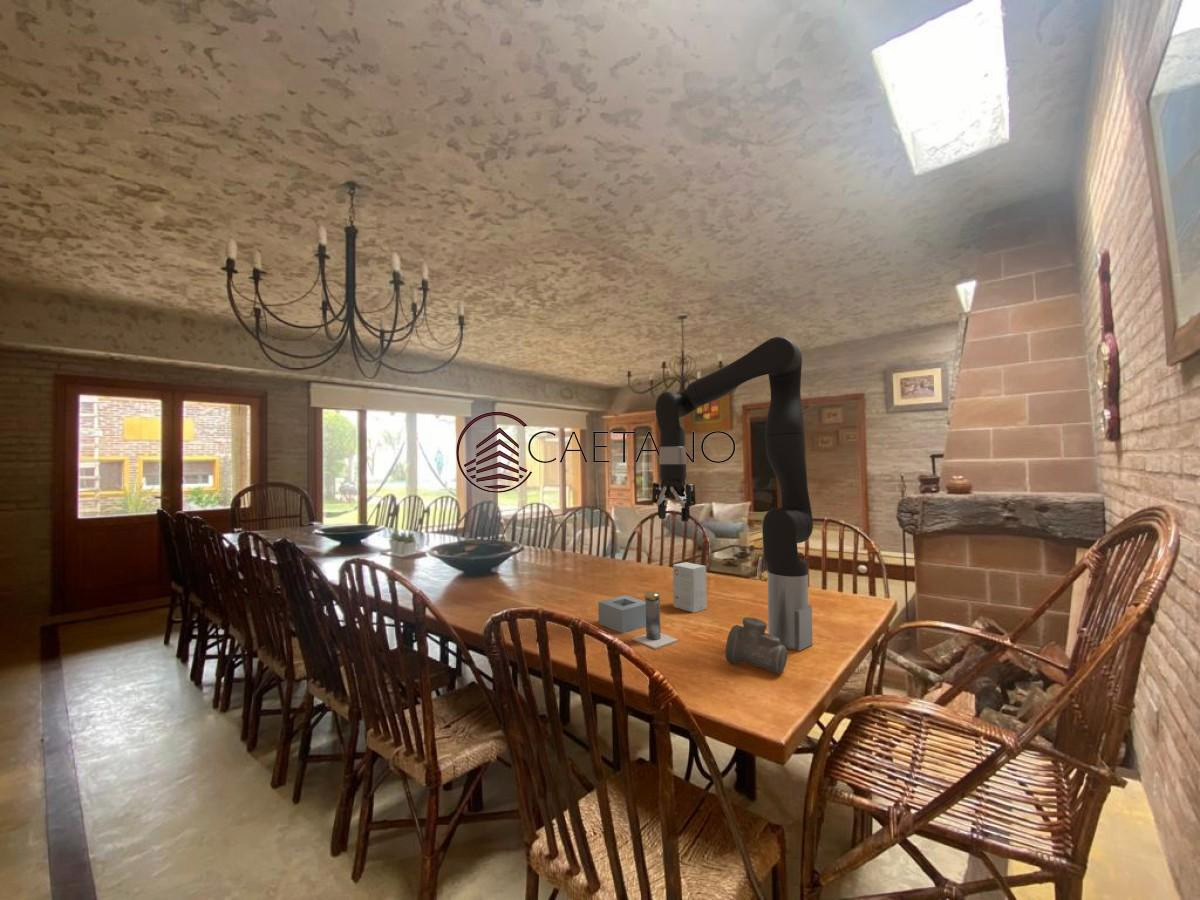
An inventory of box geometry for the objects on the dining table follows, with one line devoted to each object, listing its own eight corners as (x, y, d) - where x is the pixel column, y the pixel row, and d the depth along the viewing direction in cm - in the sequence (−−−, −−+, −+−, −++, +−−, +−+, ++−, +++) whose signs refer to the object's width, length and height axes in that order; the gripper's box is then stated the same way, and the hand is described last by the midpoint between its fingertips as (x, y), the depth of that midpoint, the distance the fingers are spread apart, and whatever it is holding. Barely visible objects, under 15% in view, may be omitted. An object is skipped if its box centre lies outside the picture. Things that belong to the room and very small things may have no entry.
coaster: (678, 641, 121) (678, 639, 121) (655, 649, 116) (655, 647, 116) (655, 632, 127) (655, 631, 127) (632, 639, 122) (632, 638, 122)
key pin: (657, 633, 125) (656, 590, 125) (664, 639, 121) (662, 594, 121) (643, 635, 124) (641, 592, 124) (649, 641, 120) (647, 596, 120)
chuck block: (649, 625, 133) (649, 602, 133) (622, 633, 126) (622, 610, 127) (625, 616, 141) (625, 595, 141) (598, 623, 134) (598, 601, 134)
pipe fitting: (720, 664, 106) (726, 617, 106) (734, 655, 112) (740, 611, 113) (776, 685, 99) (782, 635, 99) (787, 674, 105) (793, 627, 105)
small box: (707, 609, 146) (706, 565, 147) (693, 613, 142) (692, 568, 143) (686, 603, 153) (686, 561, 153) (672, 607, 149) (672, 564, 149)
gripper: (701, 462, 135) (701, 521, 135) (663, 462, 146) (663, 516, 146) (683, 463, 130) (684, 523, 130) (645, 462, 141) (646, 518, 141)
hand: (673, 519), depth 138 cm, fingers open, 8 cm apart
